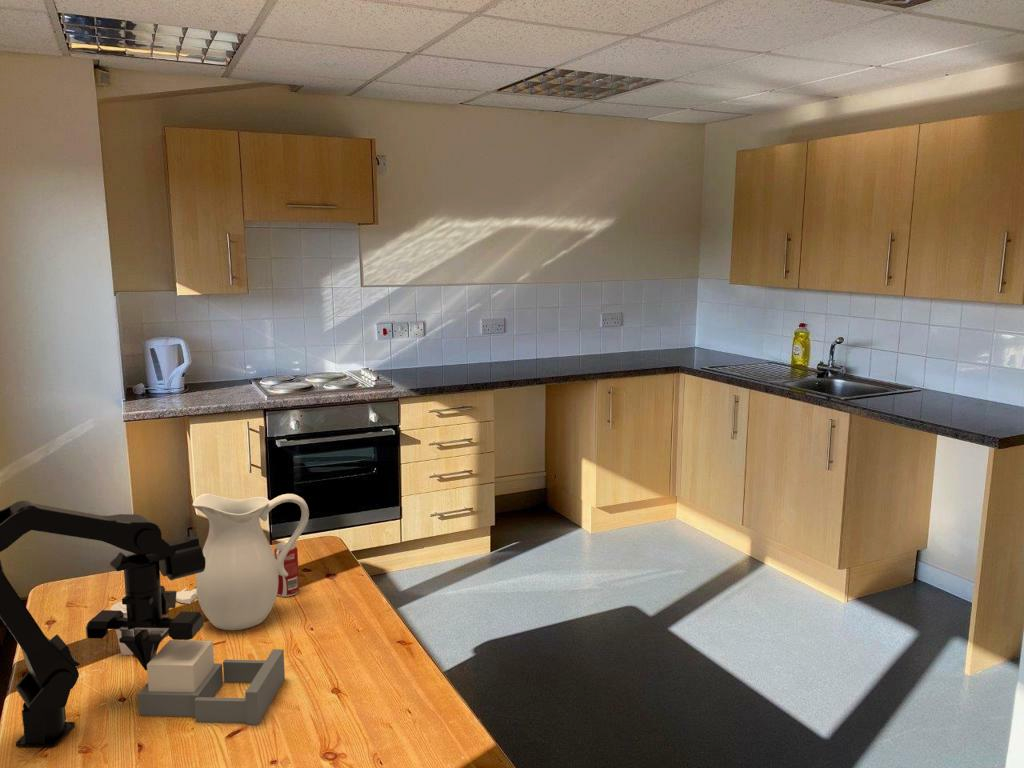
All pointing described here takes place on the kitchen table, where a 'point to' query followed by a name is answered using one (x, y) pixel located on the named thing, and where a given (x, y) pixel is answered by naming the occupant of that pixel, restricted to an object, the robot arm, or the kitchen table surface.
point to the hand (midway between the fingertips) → (148, 669)
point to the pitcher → (241, 560)
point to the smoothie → (123, 647)
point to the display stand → (228, 710)
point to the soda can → (288, 571)
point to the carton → (180, 666)
